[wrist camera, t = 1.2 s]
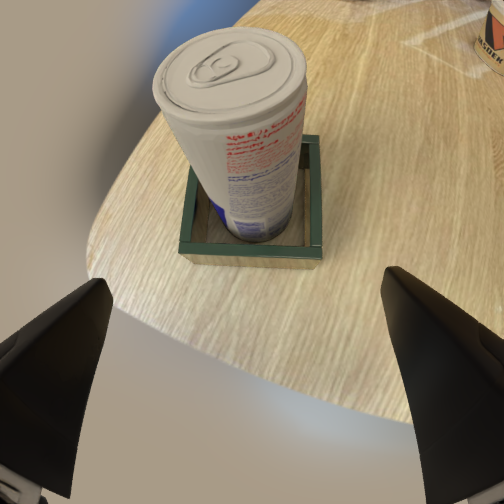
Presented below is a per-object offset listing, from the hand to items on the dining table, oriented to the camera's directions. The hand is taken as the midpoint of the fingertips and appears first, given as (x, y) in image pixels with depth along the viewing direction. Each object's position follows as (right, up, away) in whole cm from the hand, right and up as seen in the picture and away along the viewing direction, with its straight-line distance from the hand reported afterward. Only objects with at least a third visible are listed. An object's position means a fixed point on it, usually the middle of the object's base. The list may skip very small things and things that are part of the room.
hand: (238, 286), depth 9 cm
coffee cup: (+40, +33, +18) cm, 55 cm away
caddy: (+1, +4, +14) cm, 15 cm away
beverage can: (+1, +4, +15) cm, 15 cm away
